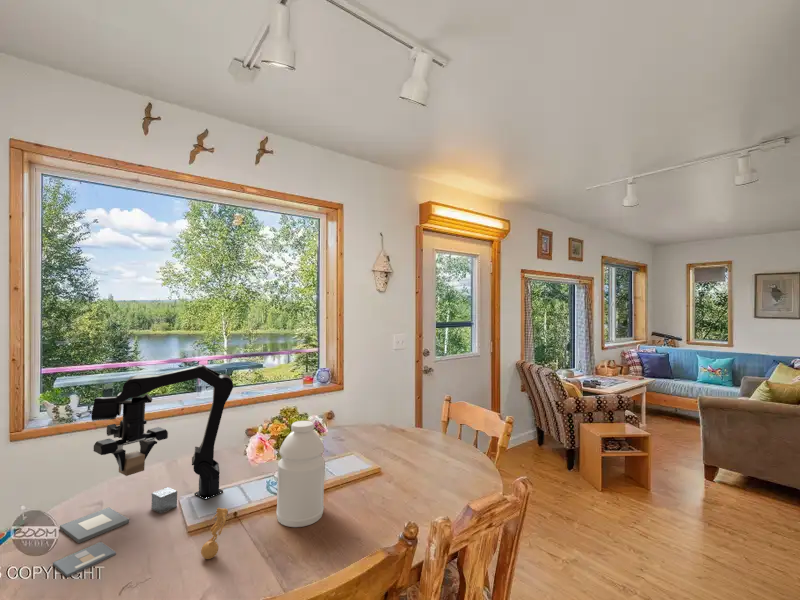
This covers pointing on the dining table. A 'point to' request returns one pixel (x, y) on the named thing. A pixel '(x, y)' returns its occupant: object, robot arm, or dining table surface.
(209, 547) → the figurine
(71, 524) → the base plate
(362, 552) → the dining table surface
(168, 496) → the metal cube
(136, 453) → the walnut cube
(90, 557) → the board
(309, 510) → the bottle
